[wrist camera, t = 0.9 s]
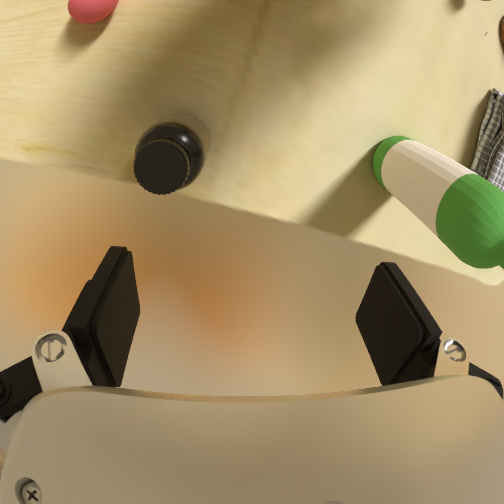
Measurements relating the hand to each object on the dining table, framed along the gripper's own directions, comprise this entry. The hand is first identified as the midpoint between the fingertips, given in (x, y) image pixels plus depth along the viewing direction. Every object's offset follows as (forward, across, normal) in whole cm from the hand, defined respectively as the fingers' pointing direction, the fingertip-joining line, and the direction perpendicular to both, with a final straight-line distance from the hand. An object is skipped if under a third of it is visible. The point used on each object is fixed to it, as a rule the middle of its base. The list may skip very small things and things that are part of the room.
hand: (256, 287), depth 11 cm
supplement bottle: (+27, +7, 0) cm, 28 cm away
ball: (+24, +18, -18) cm, 35 cm away
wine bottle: (+27, -21, -1) cm, 34 cm away
